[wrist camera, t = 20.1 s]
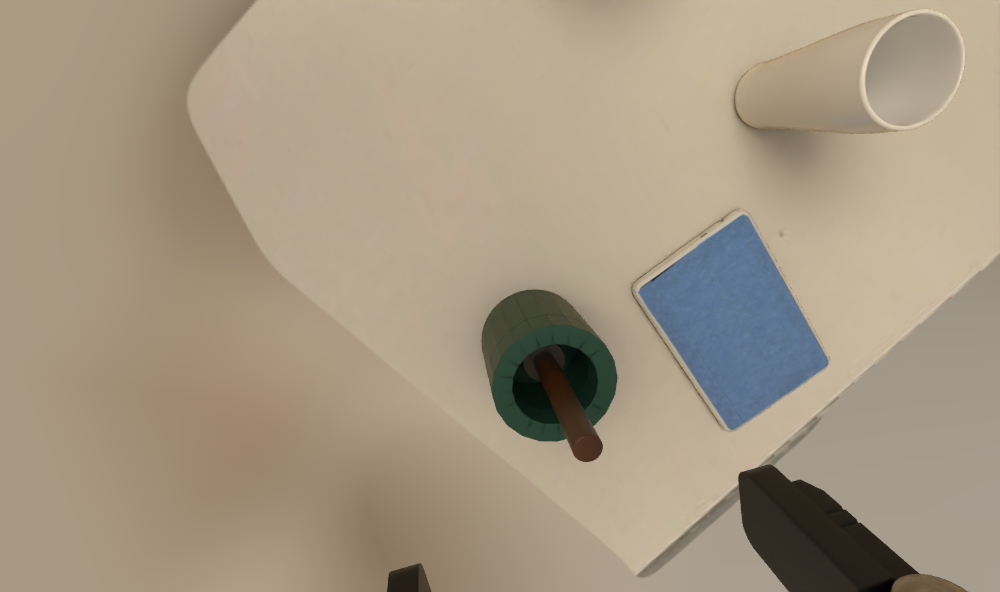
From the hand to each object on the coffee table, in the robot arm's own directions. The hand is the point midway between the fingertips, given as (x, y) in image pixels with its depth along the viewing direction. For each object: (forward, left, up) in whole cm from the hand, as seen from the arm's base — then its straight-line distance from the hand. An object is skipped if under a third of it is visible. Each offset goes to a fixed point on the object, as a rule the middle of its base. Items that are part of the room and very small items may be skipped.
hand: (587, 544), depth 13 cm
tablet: (+22, -13, -35) cm, 43 cm away
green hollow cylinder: (+3, -9, -35) cm, 36 cm away
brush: (+3, -9, -34) cm, 35 cm away
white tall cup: (+27, +7, -35) cm, 45 cm away
